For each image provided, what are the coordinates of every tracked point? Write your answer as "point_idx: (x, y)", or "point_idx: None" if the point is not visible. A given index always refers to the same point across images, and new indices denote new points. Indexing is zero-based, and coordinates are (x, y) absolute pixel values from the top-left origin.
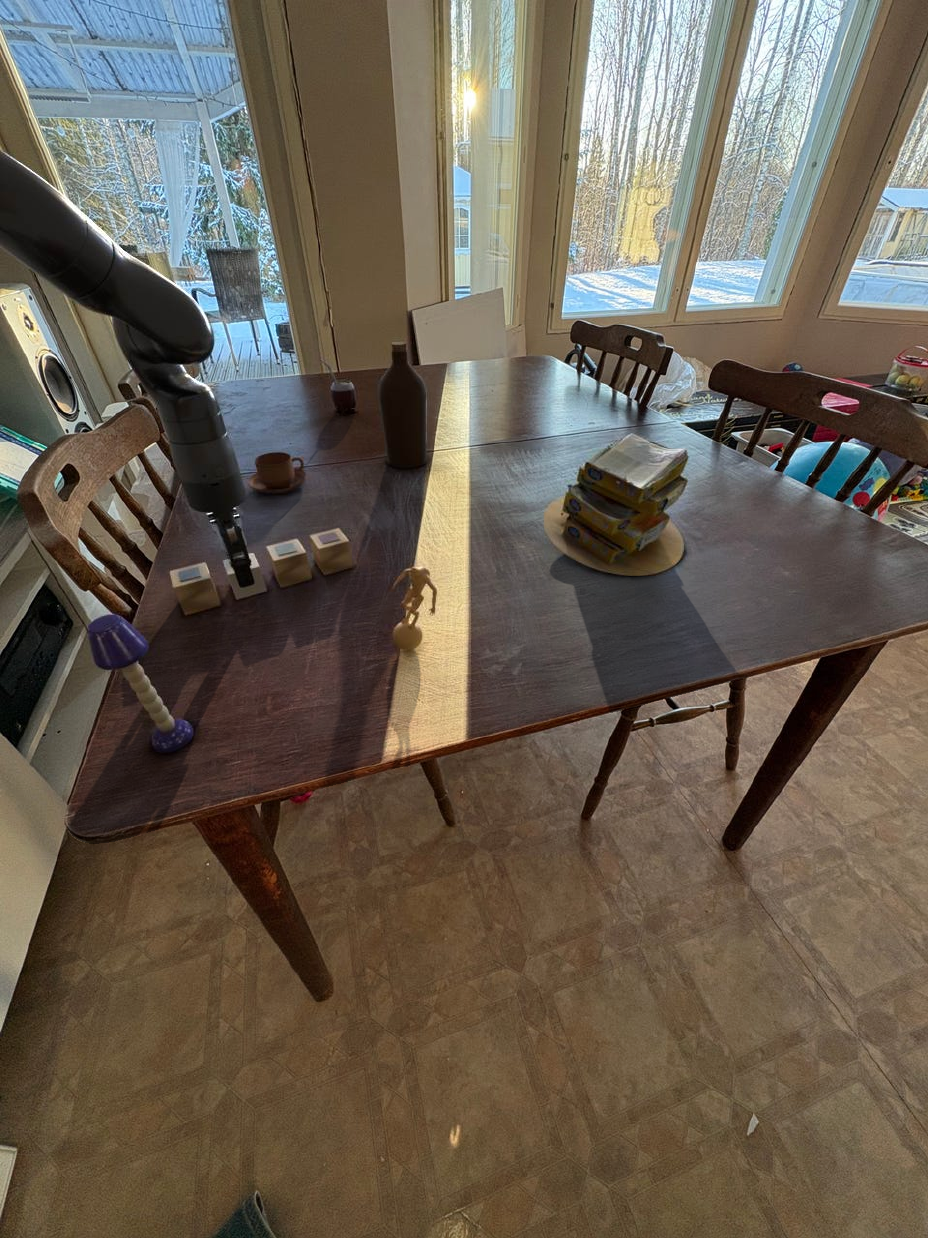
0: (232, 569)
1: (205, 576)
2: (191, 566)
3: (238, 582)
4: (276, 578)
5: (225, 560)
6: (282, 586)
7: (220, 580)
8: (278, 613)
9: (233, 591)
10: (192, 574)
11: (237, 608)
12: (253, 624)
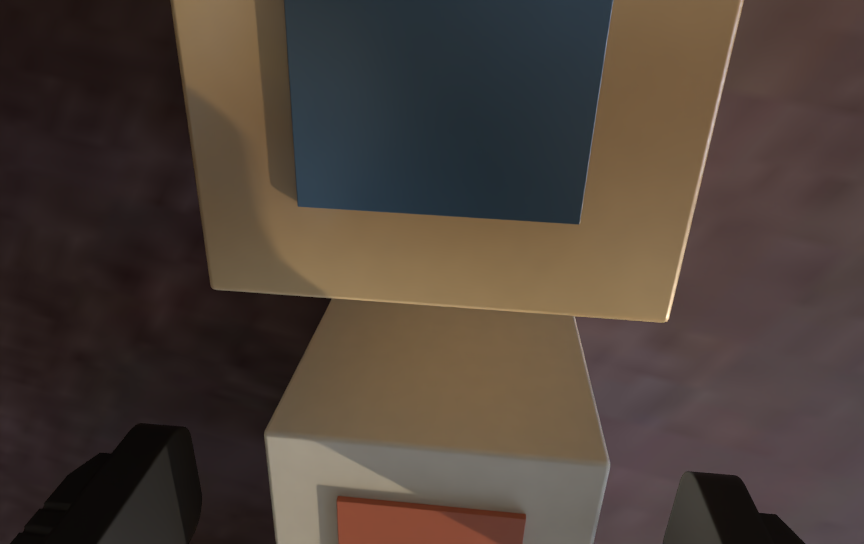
0: (348, 490)
1: (275, 246)
2: (679, 135)
3: (112, 458)
4: None
5: (587, 486)
6: None
7: (704, 246)
8: (80, 433)
9: None
10: (396, 105)
11: None
12: (8, 293)
